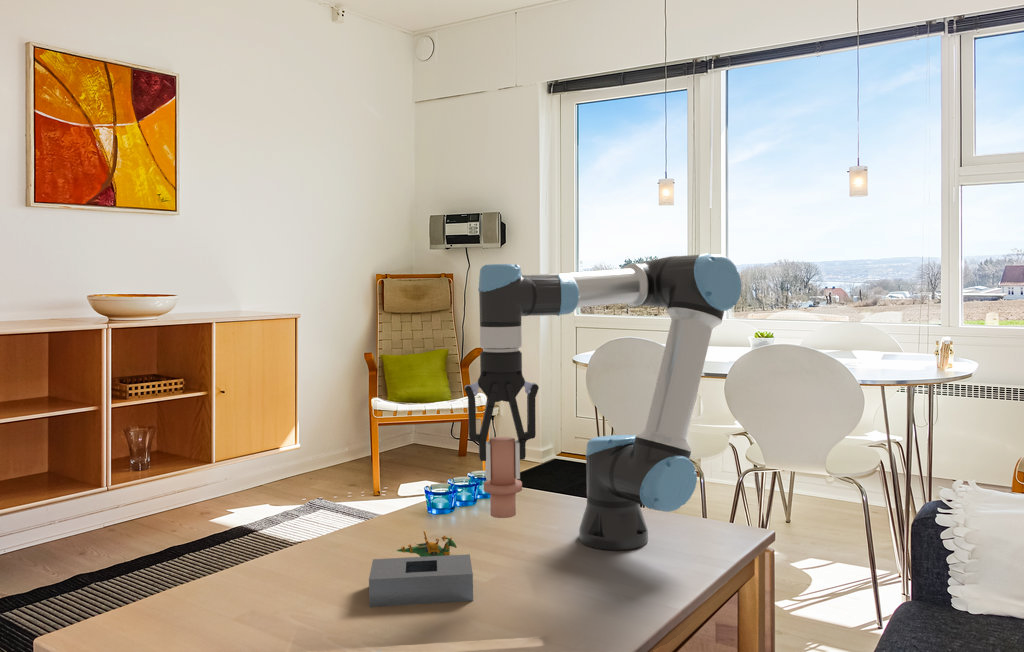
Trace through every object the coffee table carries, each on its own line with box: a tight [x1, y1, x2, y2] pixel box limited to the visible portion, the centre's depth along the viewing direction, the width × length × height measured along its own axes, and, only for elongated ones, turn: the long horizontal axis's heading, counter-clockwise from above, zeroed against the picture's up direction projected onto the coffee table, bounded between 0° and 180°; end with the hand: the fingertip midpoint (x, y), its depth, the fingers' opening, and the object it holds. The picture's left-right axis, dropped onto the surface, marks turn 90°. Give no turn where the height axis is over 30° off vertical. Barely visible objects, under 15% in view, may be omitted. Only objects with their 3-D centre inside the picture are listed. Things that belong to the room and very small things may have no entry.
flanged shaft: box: [483, 436, 523, 519], centre depth 139 cm, size 7×7×14 cm
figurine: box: [396, 530, 458, 557], centre depth 152 cm, size 3×12×8 cm, turn 103°
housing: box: [368, 553, 474, 608], centre depth 138 cm, size 18×10×6 cm, turn 96°
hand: (502, 477), depth 139 cm, fingers closed on flanged shaft, 5 cm apart
